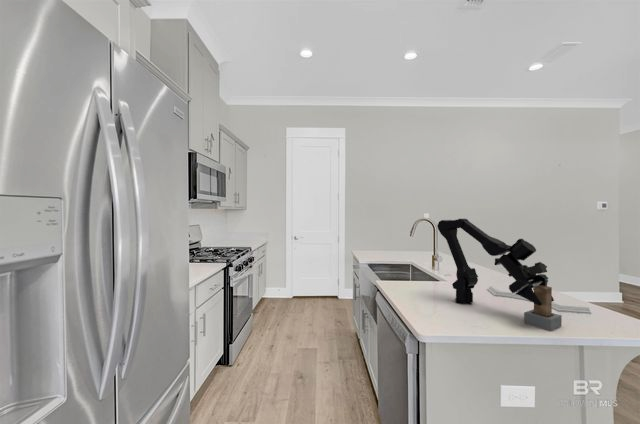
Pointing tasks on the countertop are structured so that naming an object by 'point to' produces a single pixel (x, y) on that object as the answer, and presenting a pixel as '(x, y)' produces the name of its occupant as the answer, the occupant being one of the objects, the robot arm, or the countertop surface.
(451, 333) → the countertop surface
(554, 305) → the molding
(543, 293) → the tall wooden block
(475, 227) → the robot arm
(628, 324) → the countertop surface
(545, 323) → the end cap
